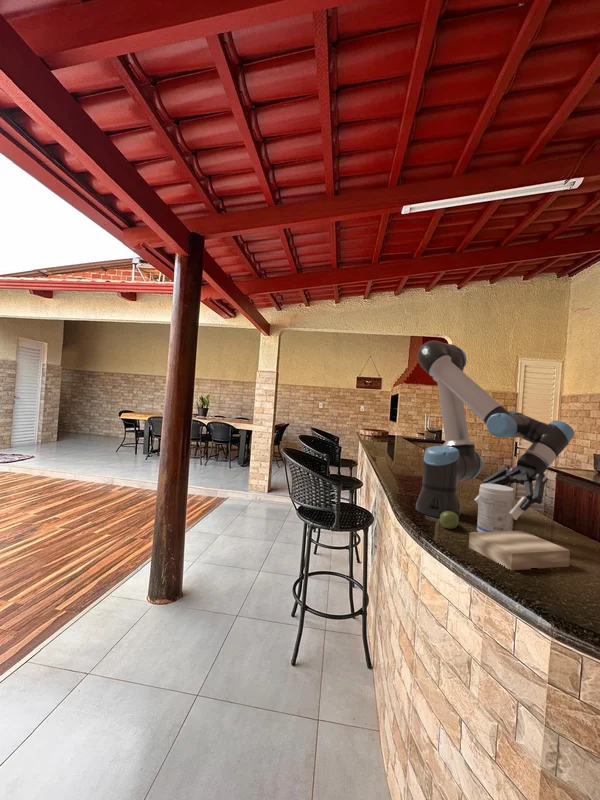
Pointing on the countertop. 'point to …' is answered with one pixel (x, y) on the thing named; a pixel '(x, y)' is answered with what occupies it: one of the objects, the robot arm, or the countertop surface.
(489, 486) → the supplement tub
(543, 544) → the wooden riser
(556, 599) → the countertop surface
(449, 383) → the robot arm
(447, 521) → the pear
